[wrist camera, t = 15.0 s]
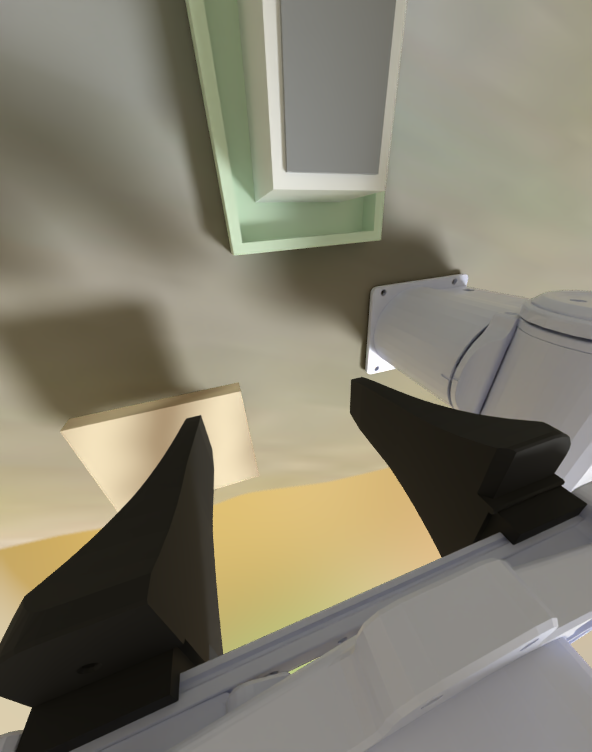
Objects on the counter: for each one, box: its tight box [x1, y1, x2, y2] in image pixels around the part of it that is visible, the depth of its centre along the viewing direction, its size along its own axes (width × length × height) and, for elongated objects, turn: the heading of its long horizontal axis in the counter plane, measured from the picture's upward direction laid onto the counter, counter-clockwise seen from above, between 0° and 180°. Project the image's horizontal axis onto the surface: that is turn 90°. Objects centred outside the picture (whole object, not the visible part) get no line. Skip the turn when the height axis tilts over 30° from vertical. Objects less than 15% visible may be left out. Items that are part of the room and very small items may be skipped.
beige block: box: [60, 383, 259, 512], centre depth 18 cm, size 9×8×7 cm
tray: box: [185, 0, 385, 256], centre depth 14 cm, size 10×12×2 cm
